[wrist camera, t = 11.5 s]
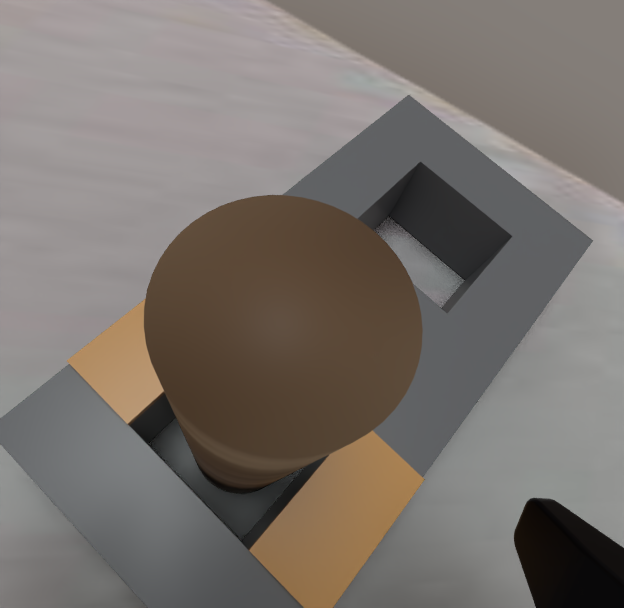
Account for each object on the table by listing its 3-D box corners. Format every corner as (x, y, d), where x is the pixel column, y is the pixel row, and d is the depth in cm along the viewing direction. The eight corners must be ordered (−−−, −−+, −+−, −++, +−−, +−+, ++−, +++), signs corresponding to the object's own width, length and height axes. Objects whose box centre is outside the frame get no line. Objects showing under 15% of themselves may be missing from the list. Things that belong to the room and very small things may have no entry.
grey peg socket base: (380, 155, 25) (411, 89, 21) (534, 282, 23) (598, 237, 19) (37, 446, 17) (-19, 427, 13) (241, 669, 15) (249, 724, 11)
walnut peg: (309, 439, 18) (471, 314, 7) (242, 515, 17) (298, 528, 5) (243, 375, 19) (284, 154, 7) (172, 443, 17) (78, 306, 6)
